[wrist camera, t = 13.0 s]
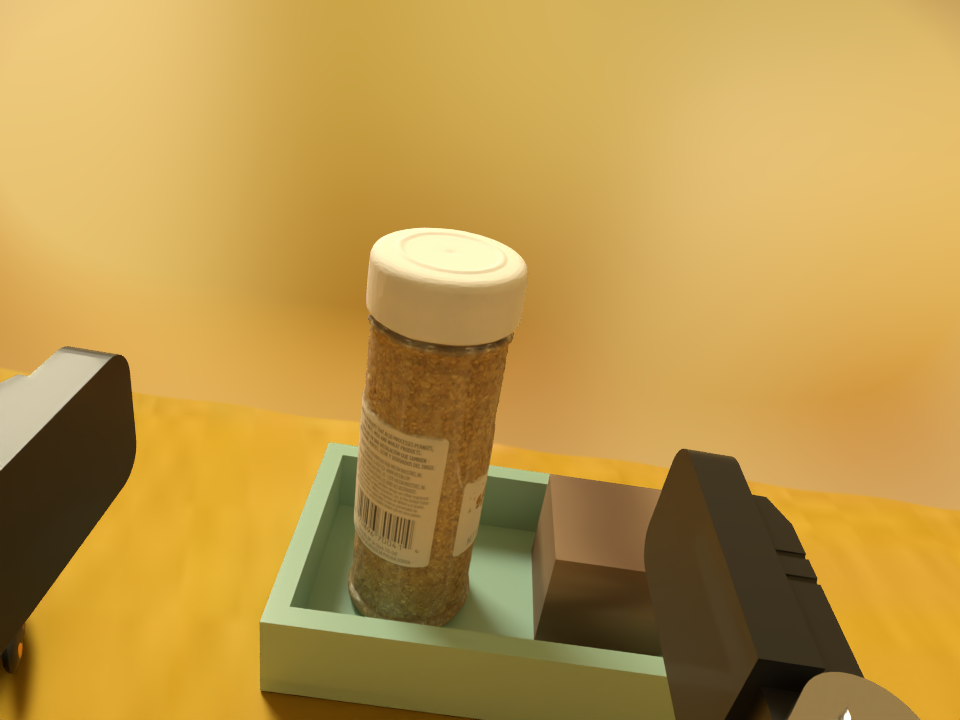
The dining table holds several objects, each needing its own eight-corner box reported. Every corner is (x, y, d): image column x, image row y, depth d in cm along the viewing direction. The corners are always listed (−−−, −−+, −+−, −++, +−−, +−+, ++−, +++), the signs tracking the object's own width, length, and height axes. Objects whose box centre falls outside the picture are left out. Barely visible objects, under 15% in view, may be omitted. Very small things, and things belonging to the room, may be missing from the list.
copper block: (533, 641, 26) (555, 559, 24) (531, 550, 30) (550, 474, 28) (658, 658, 26) (690, 578, 24) (639, 565, 30) (665, 490, 28)
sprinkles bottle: (491, 606, 27) (564, 271, 20) (384, 660, 24) (429, 293, 18) (423, 530, 30) (468, 216, 23) (322, 570, 27) (340, 228, 21)
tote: (260, 690, 23) (259, 621, 22) (325, 502, 31) (329, 442, 30) (705, 749, 24) (736, 686, 22) (657, 548, 32) (677, 492, 30)
